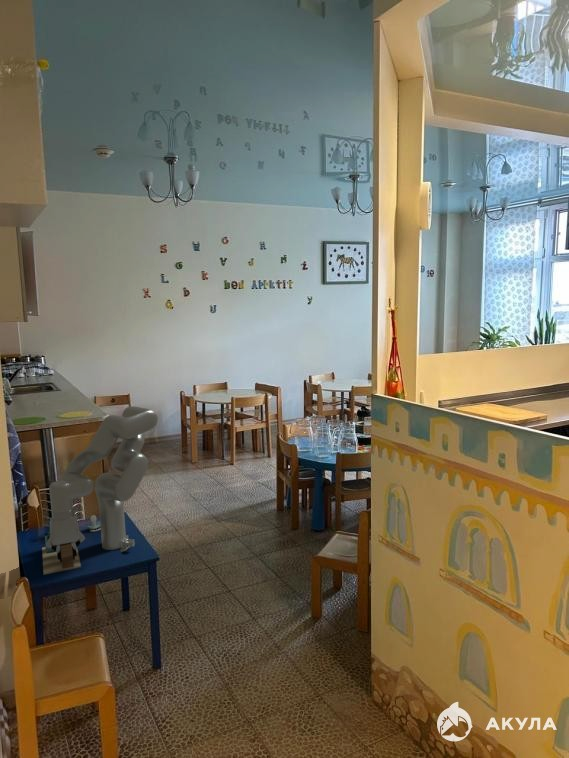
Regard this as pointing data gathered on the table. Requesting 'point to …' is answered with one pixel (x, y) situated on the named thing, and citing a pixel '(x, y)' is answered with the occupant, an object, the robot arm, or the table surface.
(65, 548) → the rail end
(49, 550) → the cup bracket
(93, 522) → the pacifier
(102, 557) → the table surface
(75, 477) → the robot arm
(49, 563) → the base board
